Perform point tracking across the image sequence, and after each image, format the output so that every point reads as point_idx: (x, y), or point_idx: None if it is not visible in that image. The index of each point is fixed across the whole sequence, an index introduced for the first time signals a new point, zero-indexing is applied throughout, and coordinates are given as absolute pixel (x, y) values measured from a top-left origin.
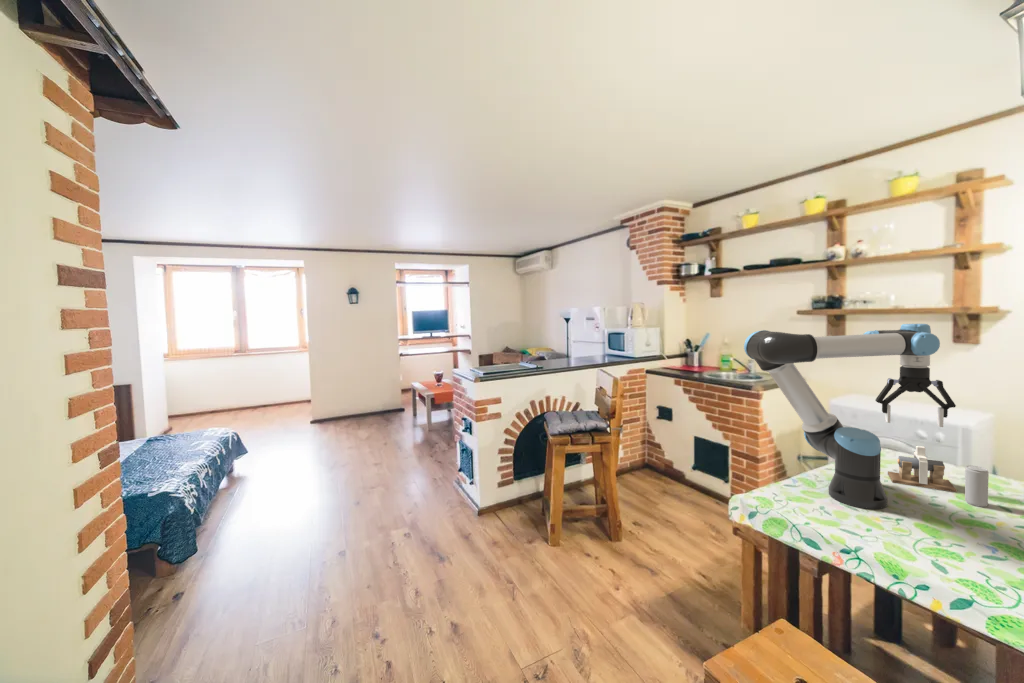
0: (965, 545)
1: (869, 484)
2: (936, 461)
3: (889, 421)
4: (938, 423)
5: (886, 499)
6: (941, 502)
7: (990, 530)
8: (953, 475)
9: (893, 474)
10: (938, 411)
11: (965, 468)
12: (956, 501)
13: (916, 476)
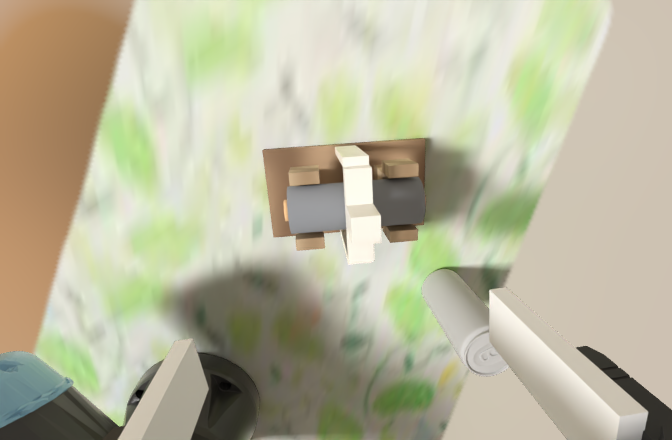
0: None
1: None
2: (405, 214)
3: (200, 400)
4: (499, 324)
5: (255, 427)
6: (369, 319)
7: (420, 414)
8: (458, 35)
9: (278, 176)
10: (576, 399)
11: (460, 347)
12: (402, 293)
13: None
